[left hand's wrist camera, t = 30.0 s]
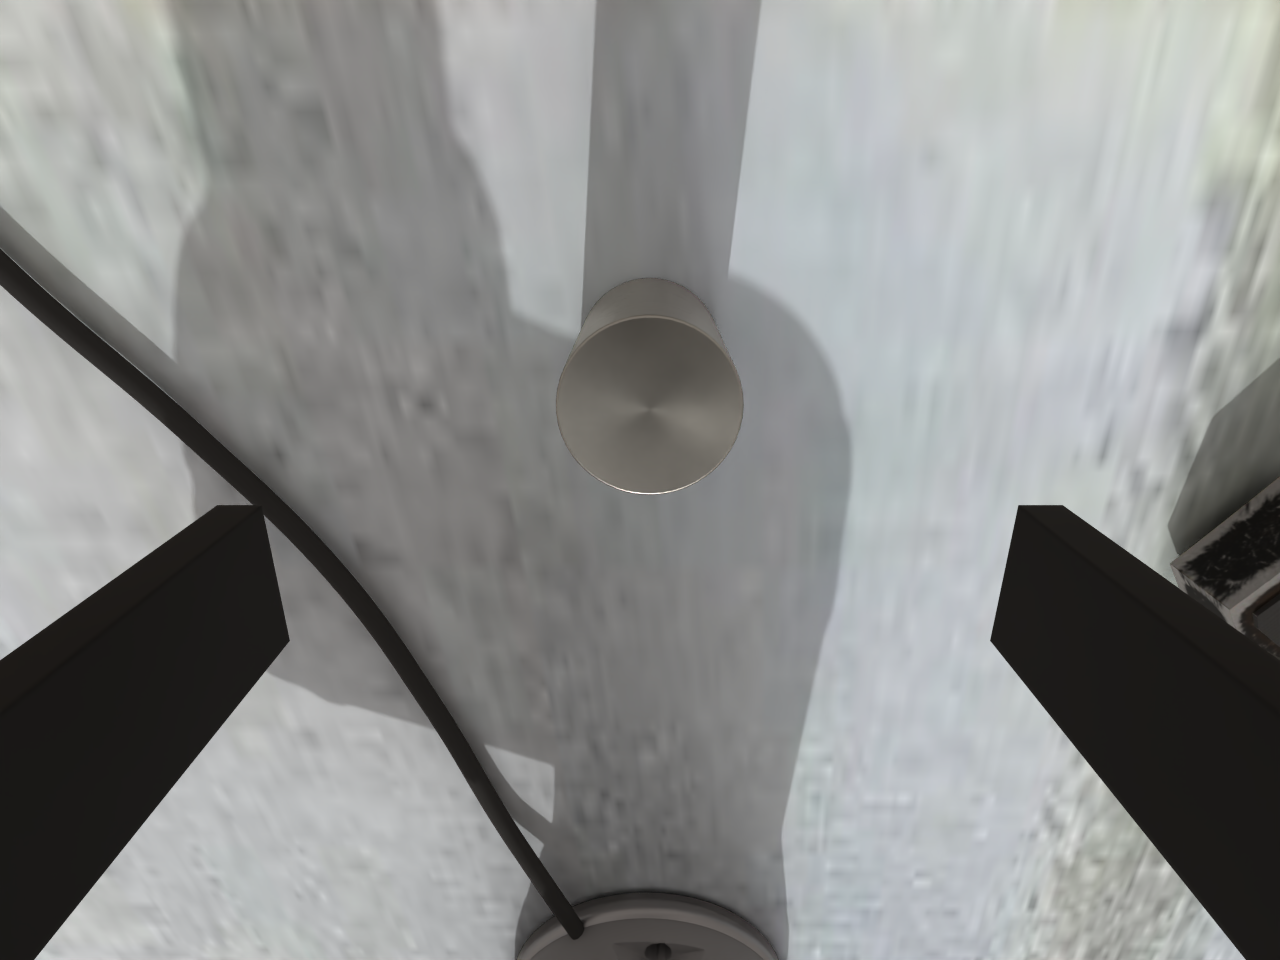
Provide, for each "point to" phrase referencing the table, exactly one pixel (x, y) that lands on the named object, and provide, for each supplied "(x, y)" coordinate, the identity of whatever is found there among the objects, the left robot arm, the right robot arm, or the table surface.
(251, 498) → the left robot arm
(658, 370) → the can
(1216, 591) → the gun
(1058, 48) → the table surface
